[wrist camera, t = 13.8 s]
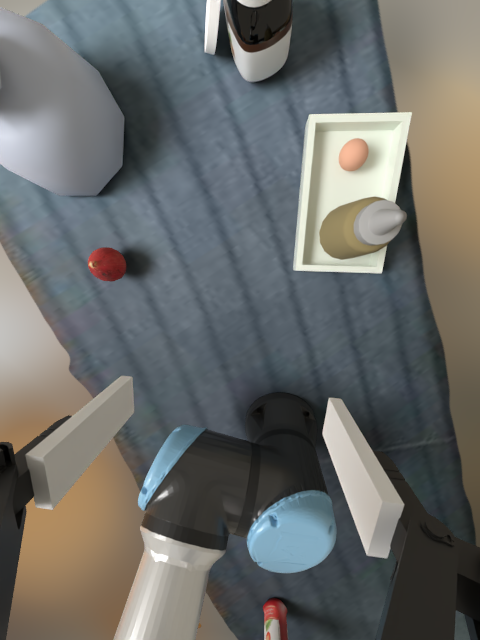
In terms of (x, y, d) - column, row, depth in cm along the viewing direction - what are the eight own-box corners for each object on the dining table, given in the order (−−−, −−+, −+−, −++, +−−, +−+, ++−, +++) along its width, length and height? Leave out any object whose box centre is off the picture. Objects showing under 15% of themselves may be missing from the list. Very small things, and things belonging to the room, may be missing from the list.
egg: (359, 175, 36) (371, 165, 33) (333, 175, 37) (342, 165, 33) (363, 145, 35) (376, 132, 32) (336, 146, 36) (346, 132, 32)
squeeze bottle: (304, 233, 39) (338, 215, 22) (343, 197, 37) (414, 146, 20) (333, 269, 40) (387, 278, 23) (373, 236, 39) (464, 218, 21)
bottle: (-4, 113, 39) (-230, -9, 21) (79, 33, 36) (-110, -200, 17) (68, 222, 43) (-71, 196, 25) (151, 161, 39) (58, 78, 21)
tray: (372, 272, 41) (381, 273, 38) (293, 269, 42) (295, 270, 39) (398, 125, 35) (411, 112, 32) (305, 126, 36) (309, 114, 33)
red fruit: (139, 273, 45) (114, 276, 37) (114, 283, 46) (85, 288, 38) (126, 243, 43) (96, 240, 36) (100, 255, 44) (67, 254, 37)
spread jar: (292, 76, 35) (307, -11, 23) (223, 110, 36) (206, 45, 25) (267, -23, 32) (271, -174, 21) (194, 20, 34) (161, -97, 23)
